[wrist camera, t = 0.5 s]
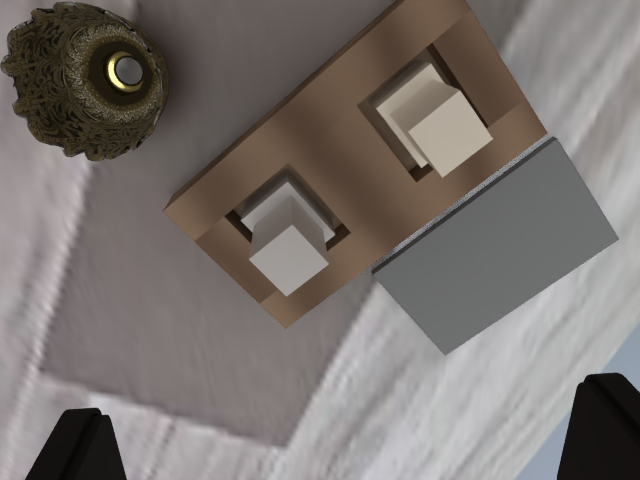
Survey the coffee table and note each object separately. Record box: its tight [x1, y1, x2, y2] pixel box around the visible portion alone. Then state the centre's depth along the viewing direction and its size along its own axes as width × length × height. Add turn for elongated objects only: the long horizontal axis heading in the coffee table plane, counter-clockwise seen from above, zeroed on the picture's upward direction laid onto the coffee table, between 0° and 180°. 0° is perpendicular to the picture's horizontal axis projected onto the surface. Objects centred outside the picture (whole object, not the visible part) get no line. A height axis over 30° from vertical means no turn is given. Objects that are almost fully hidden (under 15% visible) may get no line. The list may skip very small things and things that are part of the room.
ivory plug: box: [369, 60, 493, 178], centre depth 29 cm, size 4×5×8 cm
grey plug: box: [241, 169, 335, 297], centre depth 32 cm, size 4×5×8 cm
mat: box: [372, 137, 619, 356], centre depth 38 cm, size 16×10×1 cm, turn 130°
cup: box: [0, 2, 169, 161], centre depth 28 cm, size 8×7×8 cm
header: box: [163, 0, 547, 329], centre depth 33 cm, size 22×12×3 cm, turn 130°
